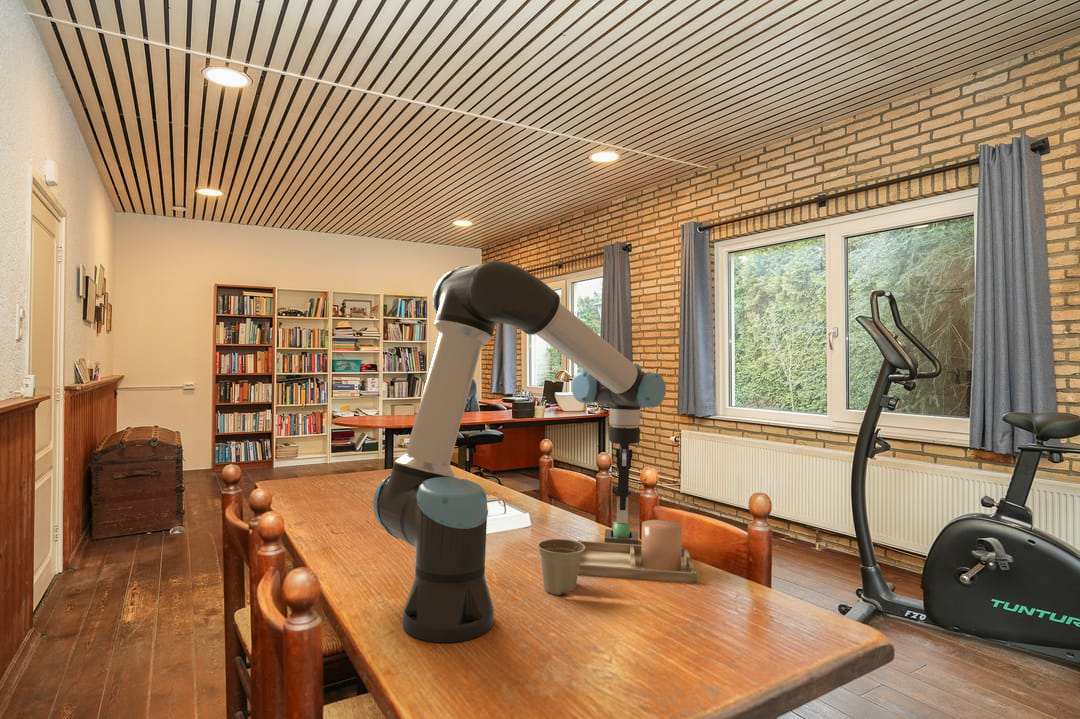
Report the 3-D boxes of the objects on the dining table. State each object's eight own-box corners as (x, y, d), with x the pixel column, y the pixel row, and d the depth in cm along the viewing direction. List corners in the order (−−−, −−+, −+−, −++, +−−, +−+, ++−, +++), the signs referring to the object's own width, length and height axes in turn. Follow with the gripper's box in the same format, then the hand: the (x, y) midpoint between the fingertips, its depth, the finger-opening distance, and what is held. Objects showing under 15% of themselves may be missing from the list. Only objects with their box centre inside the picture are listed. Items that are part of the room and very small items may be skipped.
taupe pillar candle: (683, 574, 126) (684, 531, 126) (641, 571, 127) (642, 529, 127) (678, 561, 134) (679, 521, 134) (640, 558, 136) (641, 518, 136)
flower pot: (584, 582, 122) (585, 540, 122) (583, 600, 112) (584, 554, 112) (538, 579, 123) (540, 537, 123) (533, 597, 113) (535, 551, 113)
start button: (629, 546, 144) (630, 526, 144) (612, 545, 145) (613, 524, 145) (629, 542, 148) (629, 521, 148) (613, 540, 149) (613, 520, 149)
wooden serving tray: (696, 587, 121) (696, 574, 121) (572, 577, 124) (572, 564, 124) (686, 559, 139) (686, 548, 139) (577, 551, 142) (578, 540, 142)
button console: (638, 553, 142) (638, 540, 142) (604, 550, 143) (604, 538, 143) (637, 543, 150) (637, 531, 150) (605, 540, 151) (605, 529, 151)
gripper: (641, 429, 140) (638, 530, 140) (639, 424, 153) (636, 516, 153) (609, 428, 141) (606, 528, 141) (609, 422, 154) (607, 514, 154)
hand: (622, 522), depth 147 cm, fingers closed
